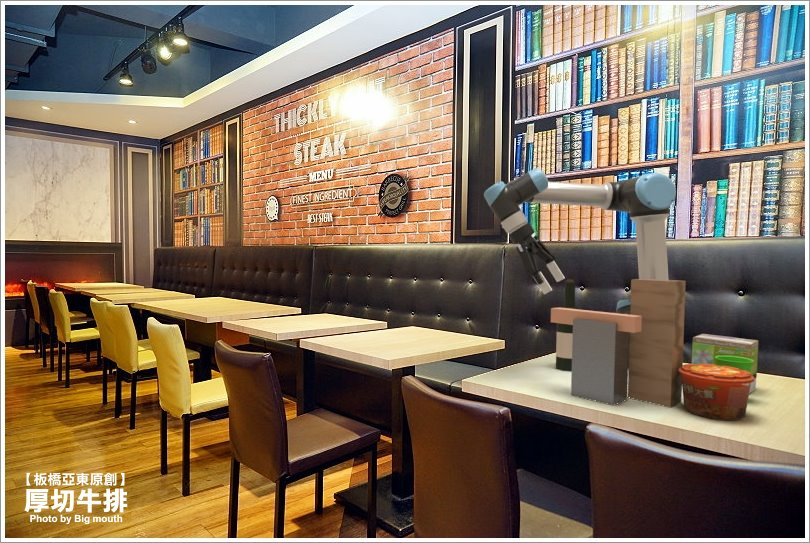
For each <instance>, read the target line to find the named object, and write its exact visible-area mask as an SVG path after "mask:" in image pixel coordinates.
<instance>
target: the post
mask: <svg viewBox="0 0 810 543" xmlns="http://www.w3.org/2000/svg"><path fill="white" fill-rule="evenodd" d="M686 282H687V281H686V280H673V279H669V280H656V279H639V278H636V279H631V281H630V283H631V284H630V300H631V308H630V315H638V316H642V326H641V332H636V333H631V332H630V340H629V368H628V384H627V398H628V397H630V398H629V399H631V398H634V399H633V400H635V399H638V400H637V401H640V400H642V401H641V402H644V401H647V402H646V403H649V402H651V403H650V404H653V403H655V404H654V405H658V404H660V405H659V406H662V405H664V406H663V407H666V406H668V407H667V408H673V407H674V405H675V406H676V404H677V405H679V404H681V403H682V397H683V389H682V379H681V373H679V372H678V370H679V368H681V367H682V366H683V365H684V364H683V363H684V362H683V361H684V335H685V334H684V333H685V307H686ZM678 403H679V404H678Z"/></svg>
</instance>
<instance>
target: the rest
mask: <svg viewBox="0 0 810 543" xmlns="http://www.w3.org/2000/svg"><path fill="white" fill-rule="evenodd" d="M617 329H618V323H610V322H602V321H593V320H584V319H576V318H574V319H573V340H572V371H571V376H570V377H571V380H570V383H571V384H570V386H571V387H570V395H571V396H572V395H574V396H573V397H576V396H579V397H578V398H581V397H583V398H582V399H585V398H587V399H586V400H589V399H591V400H590V401H593V400H596V401H595V402H597V401H600V402H599V403H601V402H604V403H603V404H605V403H608V404H607V405H609V404H612V405H611V406H615V405H614V404H616V405H618V404H620V403H619V402H621V403H623V402H622V401H624V400H626V401H627V400H628V372H629V368H628V352H629V332H624V331H617ZM624 402H625V401H624ZM617 403H618V404H617Z"/></svg>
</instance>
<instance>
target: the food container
mask: <svg viewBox="0 0 810 543" xmlns="http://www.w3.org/2000/svg"><path fill="white" fill-rule="evenodd" d="M678 372H679V373H681V379H682V397H683V398H682V400H683V408H684V410H685V411H687V412H688V413H691V414H693V415H697V416H699V417H703V418H707V419H714V420H720V421H739V420H742V419H744V418H746V413H747V407H748V402H749V401H748V400H749V396H750V394H749V391H750V386H751V382H754V377H753V376H752V375H751V374H750V372H748V371H745V370H739V369H738V368H734V367H729V366H717V365H715V364H697V365H695V364H691V363H686V364H683V366H682V367H681V368H679V370H678Z"/></svg>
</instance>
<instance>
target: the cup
mask: <svg viewBox="0 0 810 543" xmlns="http://www.w3.org/2000/svg"><path fill="white" fill-rule="evenodd" d="M715 358H716V361H717V366H729V367H734V368H738V369H739V370H745V371H748V372H751V368H752V364H753V362H754V360H752V359H749V358H745V357H738V356H727V355H719V356H715Z"/></svg>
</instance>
